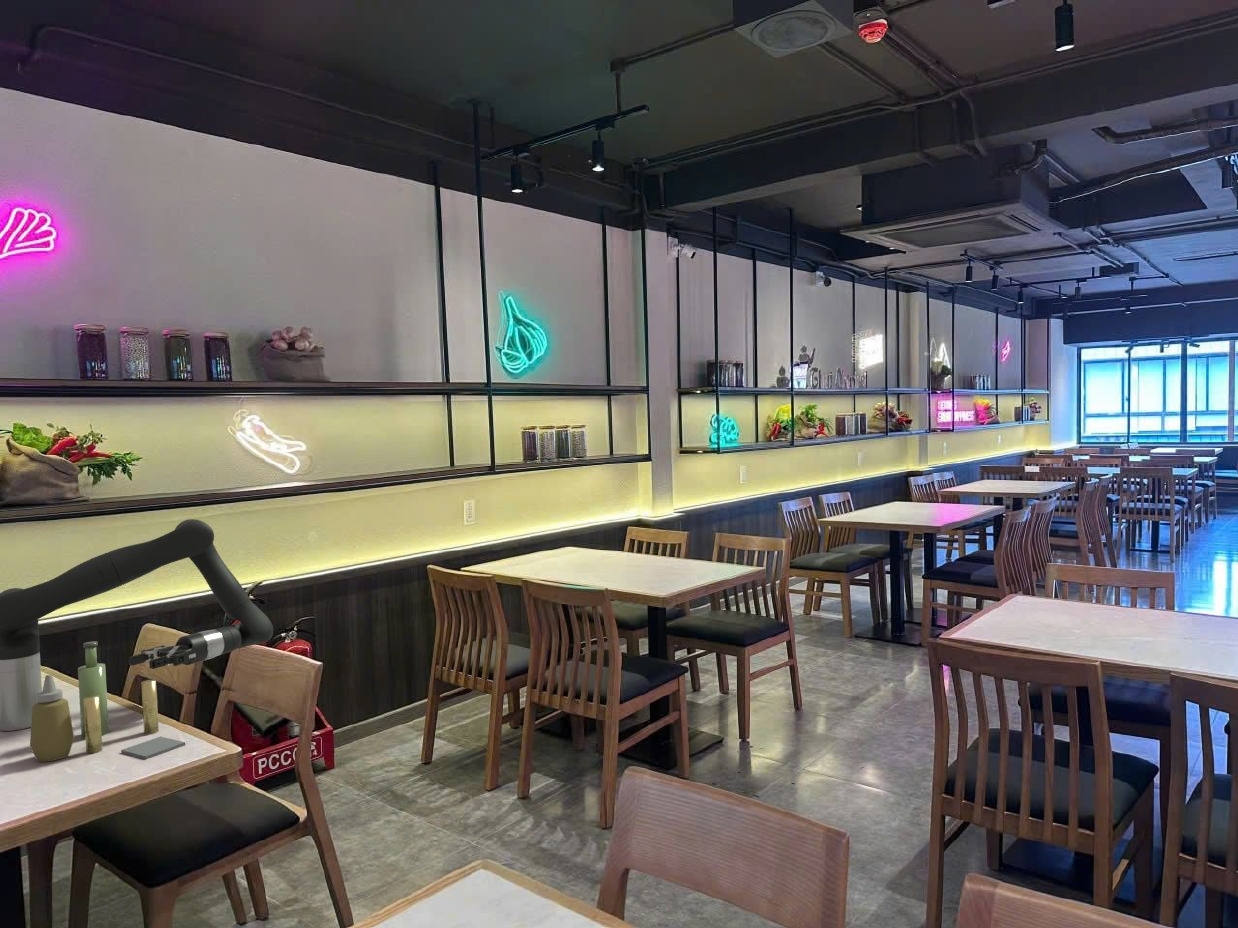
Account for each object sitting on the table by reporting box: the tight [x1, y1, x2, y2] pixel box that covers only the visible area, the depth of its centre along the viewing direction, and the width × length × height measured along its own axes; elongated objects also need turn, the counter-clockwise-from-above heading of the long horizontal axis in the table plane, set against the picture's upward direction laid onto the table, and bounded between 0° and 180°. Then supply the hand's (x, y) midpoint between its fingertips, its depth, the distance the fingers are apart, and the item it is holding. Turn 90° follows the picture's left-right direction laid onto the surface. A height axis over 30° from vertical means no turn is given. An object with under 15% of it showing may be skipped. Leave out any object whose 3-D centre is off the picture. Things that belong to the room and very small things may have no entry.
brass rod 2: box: [140, 679, 160, 735], centre depth 196 cm, size 3×3×12 cm
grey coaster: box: [120, 736, 186, 760], centre depth 185 cm, size 9×9×1 cm
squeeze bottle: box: [29, 674, 75, 763], centre depth 182 cm, size 8×8×18 cm
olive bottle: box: [77, 640, 110, 739], centre depth 196 cm, size 5×5×22 cm
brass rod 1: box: [83, 695, 103, 755], centre depth 185 cm, size 3×3×12 cm
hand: (139, 663), depth 205 cm, fingers open, 8 cm apart
